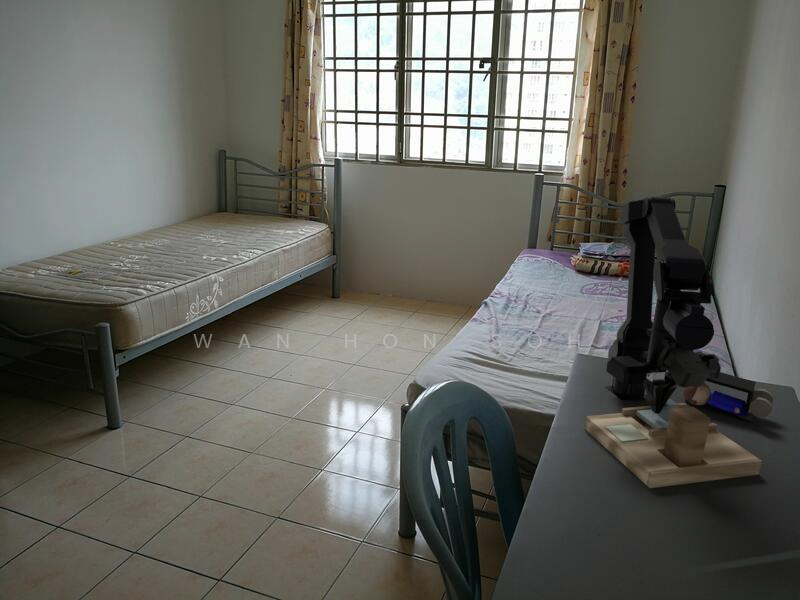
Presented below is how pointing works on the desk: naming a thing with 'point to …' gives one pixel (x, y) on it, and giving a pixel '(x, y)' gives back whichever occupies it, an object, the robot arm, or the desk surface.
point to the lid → (658, 415)
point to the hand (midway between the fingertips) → (655, 412)
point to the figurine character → (755, 402)
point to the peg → (686, 436)
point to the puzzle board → (647, 446)
